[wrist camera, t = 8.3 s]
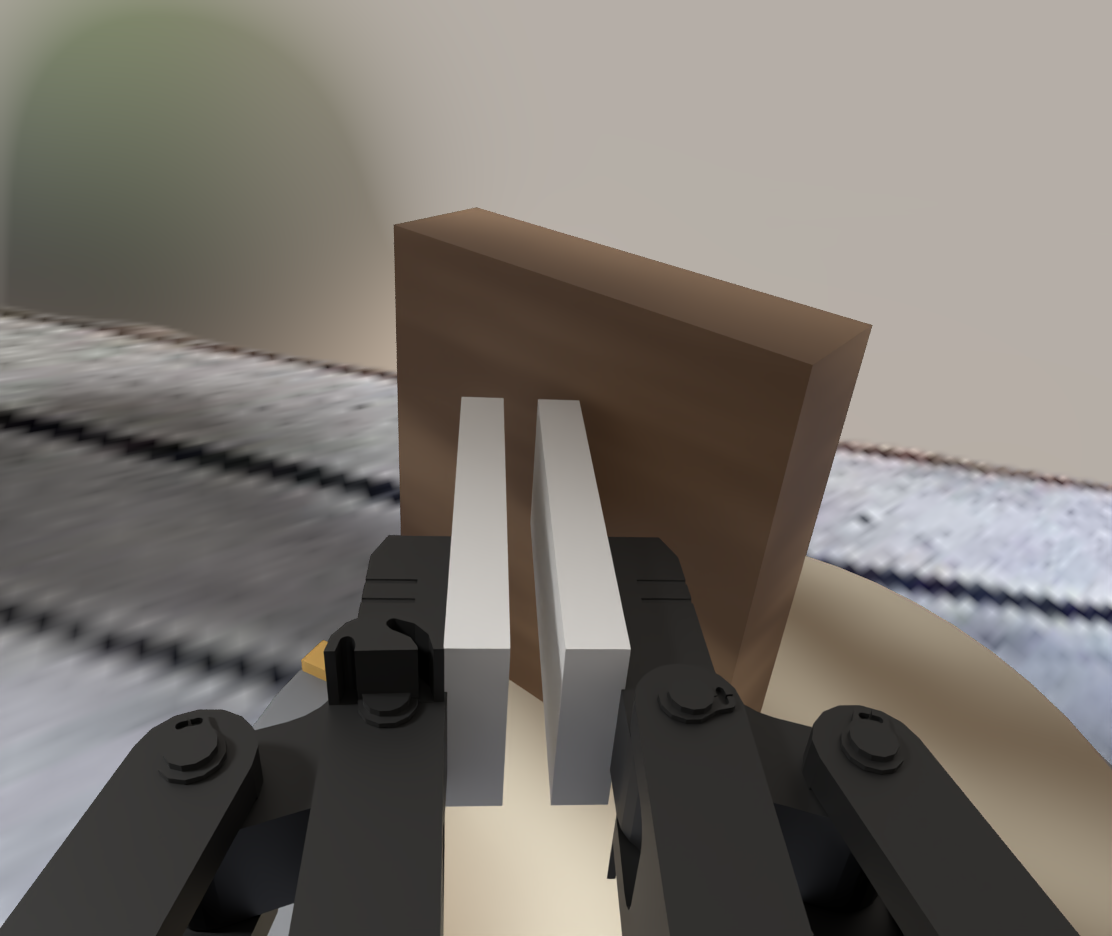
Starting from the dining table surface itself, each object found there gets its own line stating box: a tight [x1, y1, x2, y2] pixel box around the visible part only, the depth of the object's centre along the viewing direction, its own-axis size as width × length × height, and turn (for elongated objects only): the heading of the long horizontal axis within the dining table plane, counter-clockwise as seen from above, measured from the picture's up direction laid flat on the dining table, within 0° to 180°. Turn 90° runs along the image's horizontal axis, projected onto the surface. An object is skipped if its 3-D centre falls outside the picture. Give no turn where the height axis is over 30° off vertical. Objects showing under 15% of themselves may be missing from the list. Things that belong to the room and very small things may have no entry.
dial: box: [394, 208, 1112, 936], centre depth 16 cm, size 18×18×12 cm
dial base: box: [253, 640, 1112, 936], centre depth 20 cm, size 23×23×2 cm
